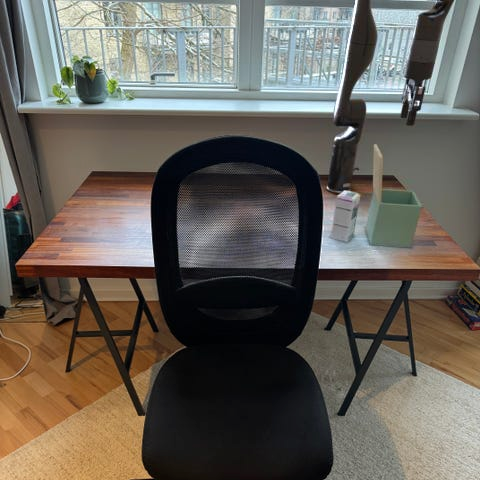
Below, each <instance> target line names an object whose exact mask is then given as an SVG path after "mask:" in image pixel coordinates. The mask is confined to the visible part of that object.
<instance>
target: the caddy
mask: <svg viewBox="0 0 480 480" xmlns="http://www.w3.org/2000/svg"><path fill="white" fill-rule="evenodd" d="M422 210H423V205H422V203H421V201H420V200H419V198H418V196H417V194H416V193H415V191H414V190H407V189H393V188H392V189H391V188H382V195H381V202H378V199H377V197H376V194H375V191H374V189H373V191H372V195H371V201H370V205H369V208H368V213H367V214H368V215H367V219H366V224H365V231H366V233H367V238H368V241H369V244H370V246H380V247H394V248H395V247H396V248H410V249H411V248H412V245H413V241H414V238H415V234H416V230H417V227H418V223H419V220H420V216H421V213H422Z"/></svg>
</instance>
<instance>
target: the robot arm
mask: <svg viewBox="0 0 480 480" xmlns="http://www.w3.org/2000/svg"><path fill="white" fill-rule="evenodd" d="M428 1H430V2H431V1H434V2H435V3H434V4H433V6H432V7H431V9H429V10H427V11H423V12H420V13H419V14H418V15H417V17H416V19H415V22H414V23H415V25H414V28H413V34H412V38H411V41H410V45H409V46H408V52H407V55H406V60H405V65H404V70H403V74H402V75H403V77H404V78H405V82H404V87H403V91H402V96H401V103H402V105H401V110H400V115H399V118H401V119H406V121H405V125H406V126H409V127H410V126H411V127H413V126H414V125H415V122H416V117H417V114H418V112H420V111H421V110H422V105H423V101H424V97H425V93H426V88H427V87H426V86H423V85H424V81H427V80H430V79H431V78H432V76H433V72H434V69H435V65H436V60H437V57H438V53H439V47H440V46H439V45H440V40H441V36H442V32H443V28H444V24H445V21H446V19H447V17H448V15H449V13H450V11H451V8H452V6H453V4H454V2H455V0H428ZM378 33H379V32H378V29H377V24H376V21H375V17H374V15H373V10H372V0H355V3H354V10H353V16H352V19H351V27H350V32H349V35H348V41H347V45H346V51H345V52H346V53H345V58H344V63H343V70H342V73H341V78H340V82H339V83H340V84H339V87H338V89H337V94H336V98H335V102H334V107H333V112H332V121H333V124H334V126H335V127H337V128H346V129H345V130H344V131H343V132H341V133H339V134H337V135H335V136H334V139H333V144H332V151H331V152H332V153H331V158H330V165H329V171H328V177H327V184H326V190H327V191H328V192H330V193H333V194H338V195H339V194H340V193H342V192H343V191H344V190H345V191H352V190H351V189H352V183H353V178H354V177H353V176H354V173H355V171H356V170H357V171H360V168H359V167H355V166H356V160H357V154H358V149H359V144H360V141H361V138H362V135H363V129H364V127H365V126H364V125H365V121H366V117H367V103H366V101H365V100H364V99H362V98H351V96H352V94H353V91H354V88H355V87H356V84H357V82H358V81H359V80H361V78H362V76H363V75H364V74H365V72H366V71H367V70H368V68H370V65H371V64H372V62H373V60H374V56H375V52H376V49H377V44H378V39H379V38H378V35H379V34H378Z"/></svg>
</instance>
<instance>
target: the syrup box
mask: <svg viewBox="0 0 480 480" xmlns="http://www.w3.org/2000/svg"><path fill="white" fill-rule="evenodd" d="M360 201H361V193H360V192H359V193H358V192H356V191H352V190H350V191H345V190H344V191H343V192H342V193H340V194H338V195H336V200H335V207H334V214H333V221H332V228H331V234H330V238H331V239H333V240H337V241H340V242H344V243H348V242H349V240H351V239H352V238H353V237H354V235H355V234H354V233H355V229H356V223H357V218H358V212H359V206H360Z"/></svg>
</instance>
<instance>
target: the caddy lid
mask: <svg viewBox="0 0 480 480" xmlns="http://www.w3.org/2000/svg"><path fill="white" fill-rule="evenodd" d="M383 162H384V157H383V154H382V152H381V150H380V148H379V146H378V144H377V143H375V144H373V162H372V163H373V165H372V167H373V168H372V169H373V170H372V171H373V172H372V188H373V190H374V191H375V194H376V197H377V199H378V202H381V195H382V189H383V168H384V167H383V164H384V163H383Z"/></svg>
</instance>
